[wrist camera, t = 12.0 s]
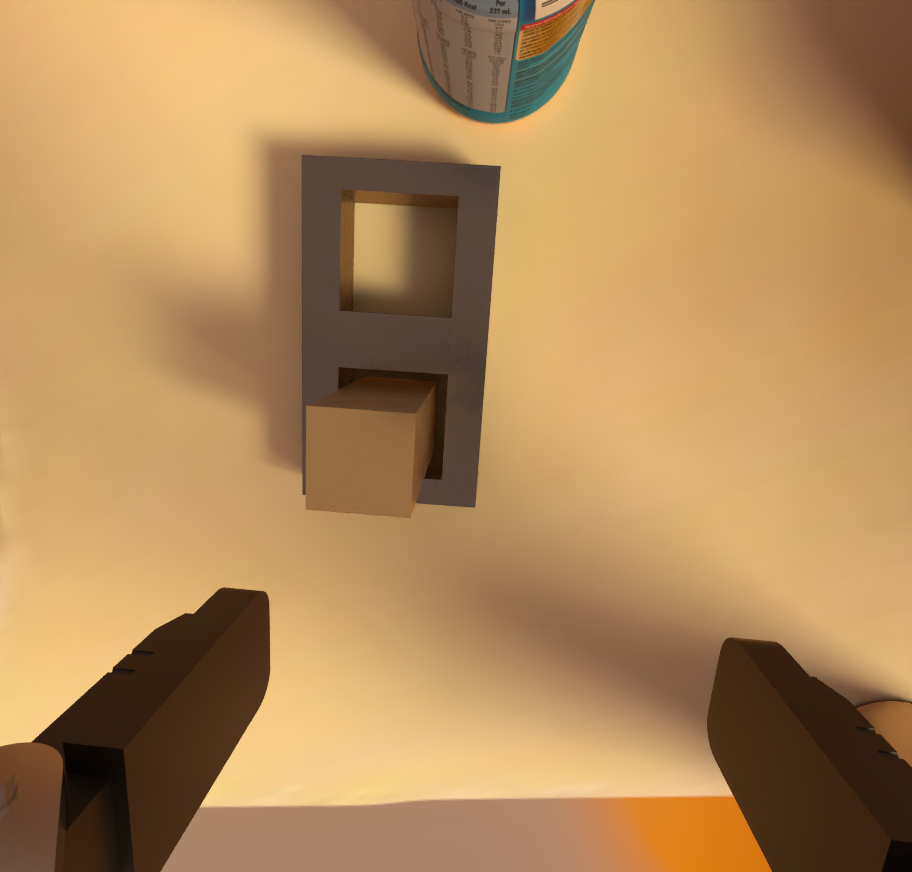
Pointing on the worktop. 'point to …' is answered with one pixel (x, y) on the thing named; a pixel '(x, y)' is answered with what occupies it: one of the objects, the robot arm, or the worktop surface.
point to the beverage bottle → (498, 53)
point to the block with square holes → (391, 335)
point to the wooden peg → (370, 446)
